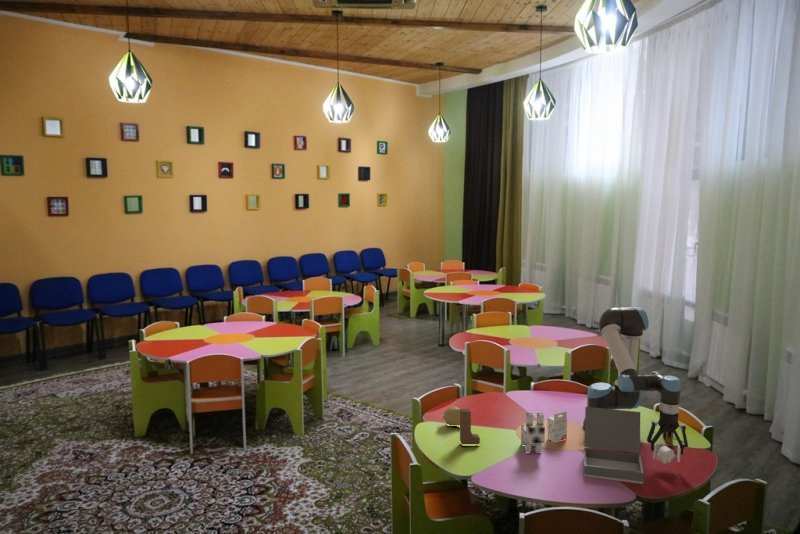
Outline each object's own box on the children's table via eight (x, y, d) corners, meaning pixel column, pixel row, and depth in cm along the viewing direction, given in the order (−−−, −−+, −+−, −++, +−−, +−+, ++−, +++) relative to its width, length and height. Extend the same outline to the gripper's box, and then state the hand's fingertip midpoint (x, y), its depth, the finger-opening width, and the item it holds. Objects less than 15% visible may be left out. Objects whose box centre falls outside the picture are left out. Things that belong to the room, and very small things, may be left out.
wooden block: (477, 442, 289) (477, 407, 287) (479, 446, 285) (480, 411, 283) (459, 443, 288) (459, 408, 286) (461, 447, 284) (461, 412, 282)
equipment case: (583, 476, 255) (584, 465, 254) (583, 458, 272) (584, 447, 271) (643, 484, 248) (643, 472, 247) (639, 464, 265) (639, 454, 264)
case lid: (585, 406, 275) (585, 406, 277) (584, 446, 272) (584, 446, 274) (640, 412, 268) (639, 412, 270) (639, 452, 264) (639, 452, 266)
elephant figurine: (680, 463, 258) (681, 448, 257) (662, 466, 255) (663, 451, 254) (668, 455, 265) (669, 440, 264) (650, 458, 263) (651, 443, 261)
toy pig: (453, 436, 306) (468, 424, 303) (438, 419, 306) (453, 407, 303) (455, 428, 315) (470, 416, 312) (440, 411, 315) (455, 399, 312)
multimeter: (690, 447, 281) (692, 408, 278) (667, 446, 283) (670, 406, 280) (681, 435, 295) (684, 397, 293) (660, 433, 297) (662, 396, 295)
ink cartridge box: (559, 436, 296) (560, 408, 294) (566, 439, 292) (567, 411, 290) (546, 439, 292) (547, 411, 290) (553, 443, 288) (554, 414, 286)
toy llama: (535, 441, 290) (535, 403, 287) (544, 458, 272) (545, 417, 270) (519, 442, 290) (520, 403, 287) (528, 458, 272) (528, 417, 270)
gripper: (643, 411, 257) (640, 459, 260) (698, 417, 250) (694, 466, 254) (641, 405, 264) (639, 452, 267) (695, 410, 257) (691, 458, 261)
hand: (666, 459), depth 260 cm, fingers closed on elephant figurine, 9 cm apart
